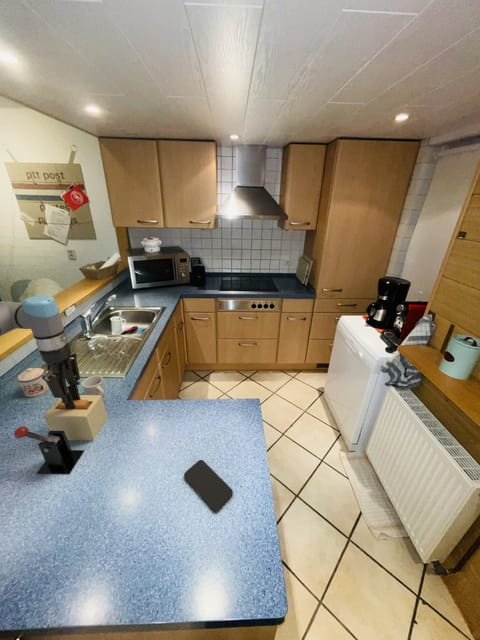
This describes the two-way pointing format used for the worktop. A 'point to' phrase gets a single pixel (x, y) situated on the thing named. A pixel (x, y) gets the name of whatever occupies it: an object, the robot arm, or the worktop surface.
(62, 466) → the toaster lever bracket
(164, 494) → the worktop surface
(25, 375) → the teacup with lid
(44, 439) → the lever
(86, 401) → the toast
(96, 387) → the cup
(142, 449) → the worktop surface
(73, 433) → the toaster
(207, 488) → the phone
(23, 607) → the worktop surface
